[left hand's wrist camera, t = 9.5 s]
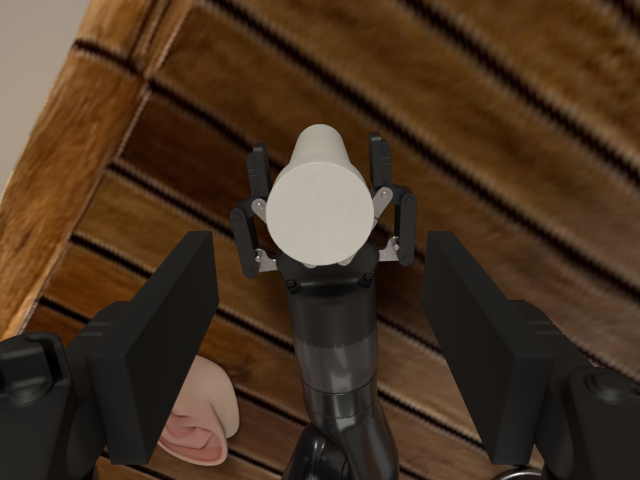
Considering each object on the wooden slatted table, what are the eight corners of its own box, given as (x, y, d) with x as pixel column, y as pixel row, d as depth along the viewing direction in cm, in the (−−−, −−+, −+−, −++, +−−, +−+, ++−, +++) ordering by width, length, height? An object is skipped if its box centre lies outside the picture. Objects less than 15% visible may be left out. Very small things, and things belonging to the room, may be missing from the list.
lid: (274, 248, 22) (269, 266, 20) (267, 154, 20) (261, 163, 18) (367, 245, 22) (373, 264, 20) (369, 151, 20) (375, 160, 18)
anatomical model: (114, 370, 41) (231, 376, 41) (131, 345, 44) (238, 351, 45) (128, 467, 46) (233, 472, 46) (143, 438, 49) (239, 442, 50)
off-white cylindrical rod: (297, 173, 38) (278, 255, 20) (294, 124, 36) (272, 170, 19) (344, 171, 38) (364, 253, 20) (343, 123, 36) (365, 167, 19)
